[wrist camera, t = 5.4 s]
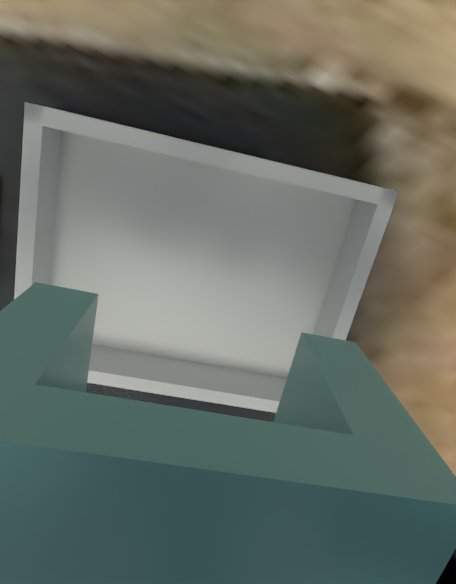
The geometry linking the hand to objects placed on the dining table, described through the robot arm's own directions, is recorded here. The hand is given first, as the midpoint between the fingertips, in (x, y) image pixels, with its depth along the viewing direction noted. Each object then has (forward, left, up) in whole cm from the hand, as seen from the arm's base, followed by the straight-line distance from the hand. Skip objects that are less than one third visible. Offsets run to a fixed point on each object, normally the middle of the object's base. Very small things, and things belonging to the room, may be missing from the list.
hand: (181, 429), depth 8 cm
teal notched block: (0, 0, -1) cm, 1 cm away
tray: (0, 0, -11) cm, 11 cm away
